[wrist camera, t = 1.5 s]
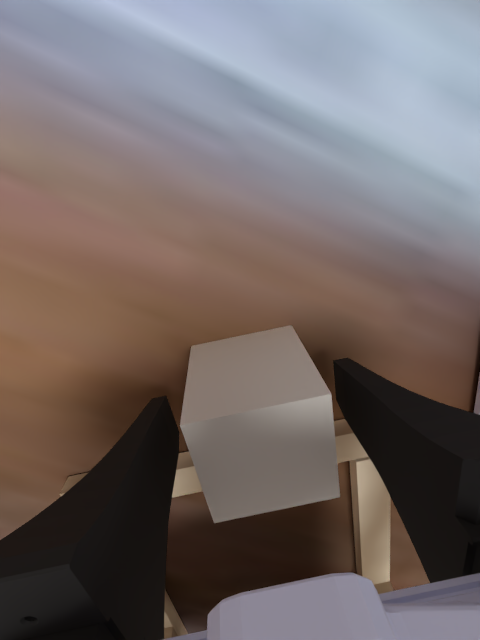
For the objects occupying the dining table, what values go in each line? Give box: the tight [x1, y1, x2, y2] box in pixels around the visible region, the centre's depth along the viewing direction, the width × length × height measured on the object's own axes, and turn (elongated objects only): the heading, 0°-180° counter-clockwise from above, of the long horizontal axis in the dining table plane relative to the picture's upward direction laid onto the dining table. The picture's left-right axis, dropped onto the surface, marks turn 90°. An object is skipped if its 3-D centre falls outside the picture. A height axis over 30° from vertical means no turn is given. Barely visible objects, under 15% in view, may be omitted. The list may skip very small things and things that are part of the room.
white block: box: [180, 325, 340, 523], centre depth 12 cm, size 4×4×5 cm
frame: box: [60, 419, 394, 639], centre depth 16 cm, size 16×20×7 cm
